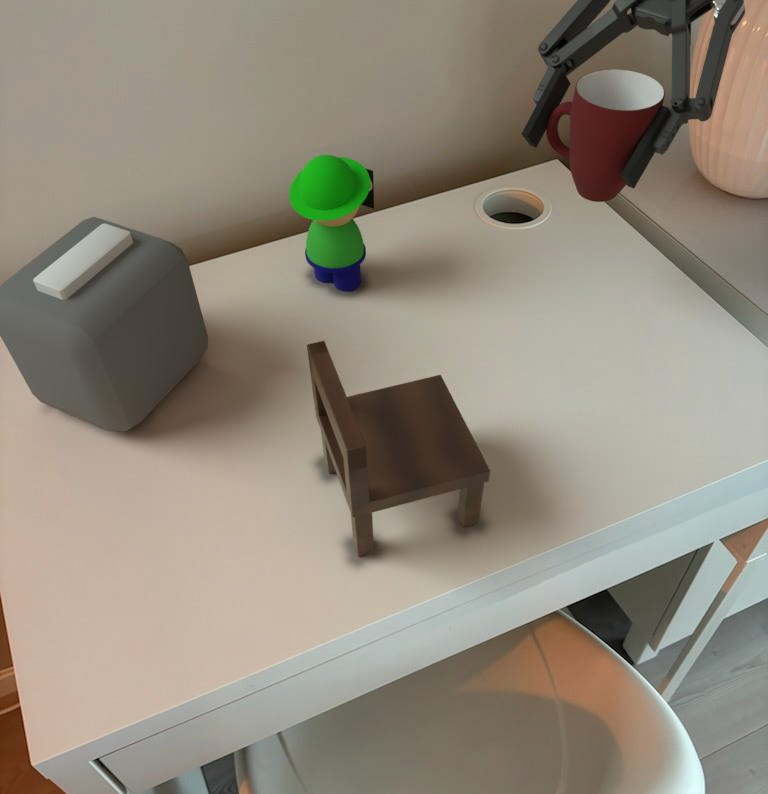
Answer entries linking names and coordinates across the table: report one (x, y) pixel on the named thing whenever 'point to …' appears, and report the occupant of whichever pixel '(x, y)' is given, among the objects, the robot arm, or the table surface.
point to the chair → (394, 446)
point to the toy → (333, 216)
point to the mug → (605, 128)
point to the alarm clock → (103, 323)
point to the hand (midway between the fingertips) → (576, 161)
